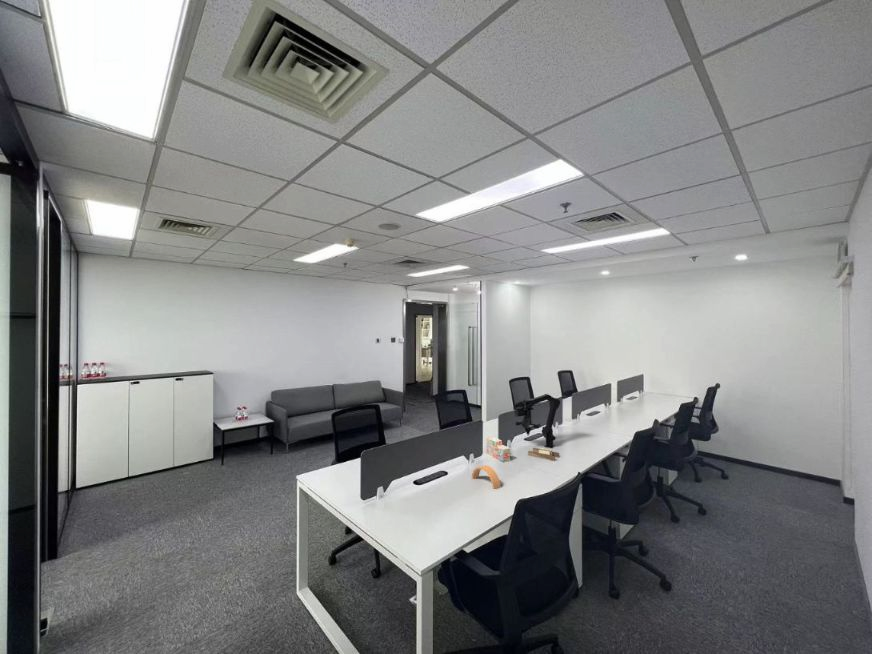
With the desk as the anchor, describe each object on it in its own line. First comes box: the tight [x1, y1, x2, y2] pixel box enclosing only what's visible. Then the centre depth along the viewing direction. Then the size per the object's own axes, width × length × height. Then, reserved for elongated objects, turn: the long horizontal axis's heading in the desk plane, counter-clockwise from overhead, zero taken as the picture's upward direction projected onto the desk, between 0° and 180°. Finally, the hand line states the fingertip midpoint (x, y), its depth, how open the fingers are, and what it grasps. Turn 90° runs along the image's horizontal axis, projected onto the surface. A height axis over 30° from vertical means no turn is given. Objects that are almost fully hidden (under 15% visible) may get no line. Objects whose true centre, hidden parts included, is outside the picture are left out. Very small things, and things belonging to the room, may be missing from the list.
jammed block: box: [539, 447, 553, 455], centre depth 259 cm, size 6×8×4 cm
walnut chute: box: [527, 447, 560, 462], centre depth 260 cm, size 10×20×3 cm, turn 52°
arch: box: [471, 464, 502, 490], centre depth 215 cm, size 6×20×10 cm, turn 35°
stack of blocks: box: [485, 436, 511, 463], centre depth 259 cm, size 21×6×12 cm, turn 26°
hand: (528, 435), depth 276 cm, fingers closed
